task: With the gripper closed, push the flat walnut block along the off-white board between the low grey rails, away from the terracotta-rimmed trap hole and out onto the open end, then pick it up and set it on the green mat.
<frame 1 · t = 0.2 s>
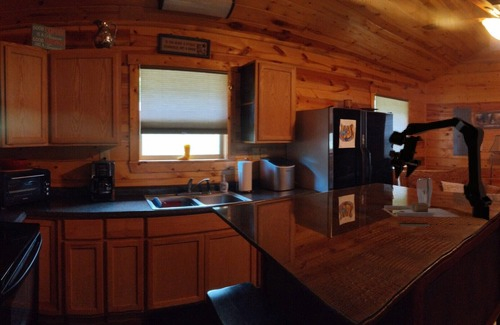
hand: (401, 178, 164), 15 cm above the counter, tool pointing down, fingers open, 9 cm apart
walnut block: (419, 212, 147), point 1 cm above the counter, touching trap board
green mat: (409, 222, 134), on the counter
beer glass: (424, 209, 163), on the counter
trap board: (419, 215, 148), on the counter
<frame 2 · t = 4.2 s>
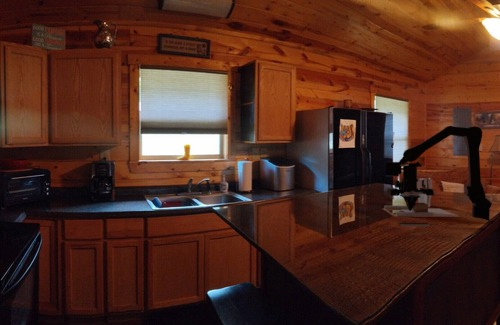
hand: (409, 210, 148), 2 cm above the counter, tool pointing down, fingers closed
walnut block: (419, 212, 147), point 2 cm above the counter, touching gripper
everything else where it was.
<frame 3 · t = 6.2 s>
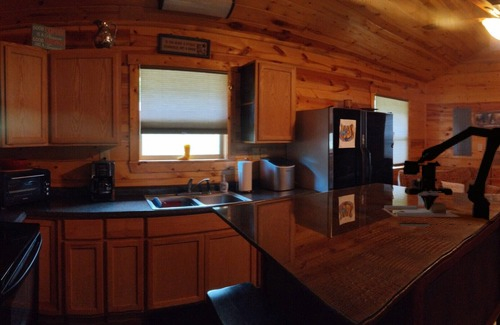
hand: (427, 210, 147), 3 cm above the counter, tool pointing down, fingers closed
walnut block: (437, 212, 147), point 2 cm above the counter, touching gripper, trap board
everything else where it was.
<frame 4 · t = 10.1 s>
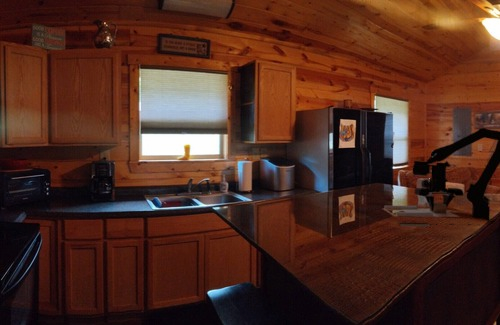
hand: (438, 210, 147), 2 cm above the counter, tool pointing down, fingers closed on walnut block, 5 cm apart
walnut block: (437, 212, 147), point 2 cm above the counter, touching gripper, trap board
everything else where it was.
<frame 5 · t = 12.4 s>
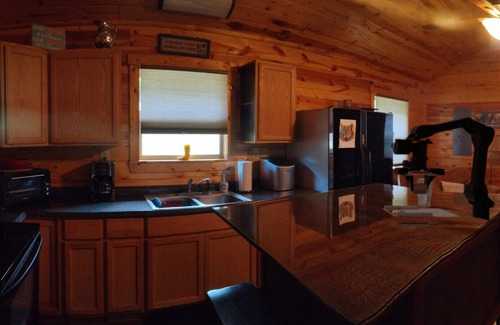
hand: (418, 191, 138), 13 cm above the counter, tool pointing down, fingers closed on walnut block, 5 cm apart
walnut block: (417, 193, 138), point 12 cm above the counter, touching gripper
everything else where it was.
when the fingers open (3 cm above the counter, at t = 15.0 s): walnut block drops 2 cm, resting on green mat.
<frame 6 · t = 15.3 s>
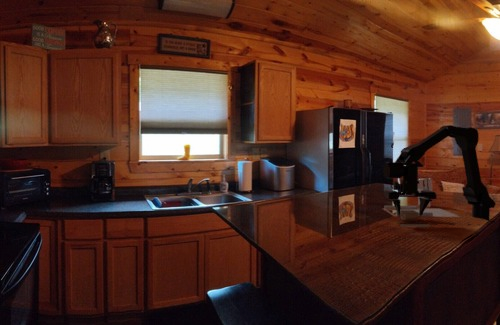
hand: (409, 215, 134), 3 cm above the counter, tool pointing down, fingers open, 8 cm apart
walnut block: (409, 220, 135), point 1 cm above the counter, touching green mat
everything else where it was.
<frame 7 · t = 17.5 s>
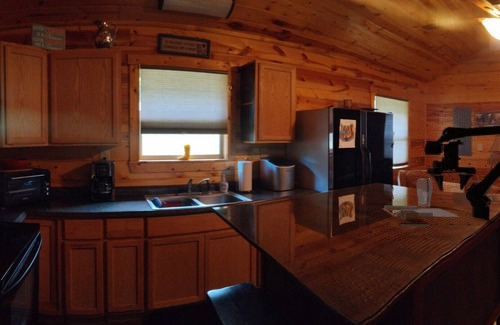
hand: (451, 190, 145), 12 cm above the counter, tool pointing down, fingers open, 9 cm apart
nothing on the counter moved.
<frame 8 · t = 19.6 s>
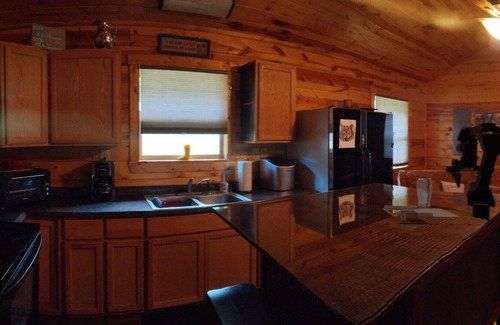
hand: (469, 187, 150), 12 cm above the counter, tool pointing down, fingers open, 9 cm apart
nothing on the counter moved.
at the end: walnut block inside the target area on the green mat (0.3 cm from its centre), point 0.8 cm above the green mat's base; walnut block tilted 0°; the gripper is holding nothing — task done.
